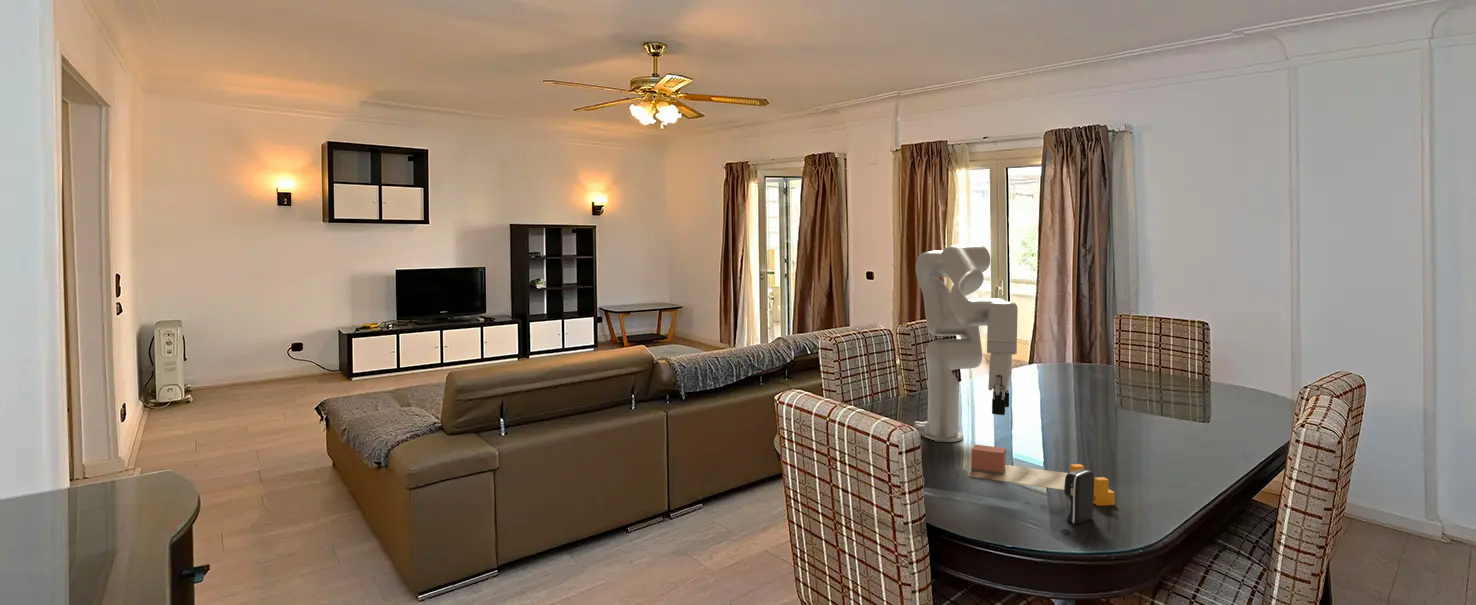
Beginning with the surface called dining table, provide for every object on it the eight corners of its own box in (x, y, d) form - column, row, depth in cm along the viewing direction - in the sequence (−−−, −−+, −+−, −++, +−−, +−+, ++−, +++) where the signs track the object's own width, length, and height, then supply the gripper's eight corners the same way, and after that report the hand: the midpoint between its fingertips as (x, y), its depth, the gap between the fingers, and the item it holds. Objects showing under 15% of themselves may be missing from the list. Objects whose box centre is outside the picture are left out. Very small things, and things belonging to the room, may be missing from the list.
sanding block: (971, 470, 196) (971, 449, 196) (974, 465, 201) (975, 444, 200) (1002, 475, 193) (1003, 453, 192) (1005, 469, 197) (1005, 448, 196)
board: (968, 481, 192) (968, 476, 192) (977, 466, 205) (977, 461, 205) (1067, 496, 181) (1067, 490, 181) (1070, 479, 194) (1071, 473, 194)
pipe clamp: (1114, 505, 175) (1115, 479, 175) (1097, 506, 175) (1098, 480, 174) (1085, 488, 187) (1086, 463, 187) (1069, 488, 187) (1070, 464, 186)
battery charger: (1077, 513, 170) (1079, 465, 169) (1093, 518, 167) (1095, 470, 166) (1060, 520, 166) (1062, 471, 165) (1076, 525, 163) (1078, 476, 162)
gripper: (991, 342, 204) (990, 402, 205) (982, 351, 189) (981, 416, 190) (1019, 344, 201) (1018, 405, 202) (1013, 352, 185) (1012, 419, 187)
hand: (1000, 410), depth 196 cm, fingers open, 9 cm apart
